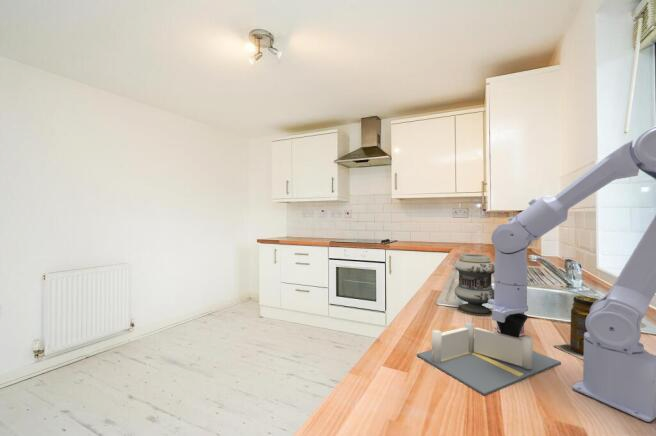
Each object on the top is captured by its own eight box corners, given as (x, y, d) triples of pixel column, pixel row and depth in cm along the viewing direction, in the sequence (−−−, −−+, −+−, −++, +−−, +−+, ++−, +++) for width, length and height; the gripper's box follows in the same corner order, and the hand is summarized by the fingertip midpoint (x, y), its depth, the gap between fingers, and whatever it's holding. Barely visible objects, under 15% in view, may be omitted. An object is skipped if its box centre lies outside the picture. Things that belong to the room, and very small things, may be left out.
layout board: (560, 363, 60) (561, 361, 60) (484, 395, 48) (484, 392, 48) (489, 335, 73) (489, 333, 73) (416, 355, 62) (416, 353, 62)
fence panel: (473, 352, 62) (474, 326, 62) (476, 349, 64) (476, 324, 64) (531, 370, 55) (532, 340, 55) (533, 366, 57) (533, 338, 57)
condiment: (617, 358, 63) (618, 302, 62) (587, 362, 61) (588, 304, 61) (581, 343, 70) (582, 293, 70) (552, 346, 68) (553, 295, 68)
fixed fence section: (468, 348, 65) (468, 321, 65) (475, 351, 64) (475, 324, 64) (429, 359, 60) (430, 330, 60) (436, 363, 58) (437, 333, 58)
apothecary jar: (468, 303, 102) (469, 251, 102) (503, 312, 92) (504, 255, 92) (446, 308, 96) (447, 253, 96) (482, 319, 85) (482, 258, 85)
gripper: (500, 274, 68) (499, 333, 68) (475, 284, 58) (474, 352, 58) (537, 280, 62) (536, 343, 62) (516, 291, 53) (515, 366, 53)
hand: (509, 348), depth 60 cm, fingers closed, pressing on fence panel
